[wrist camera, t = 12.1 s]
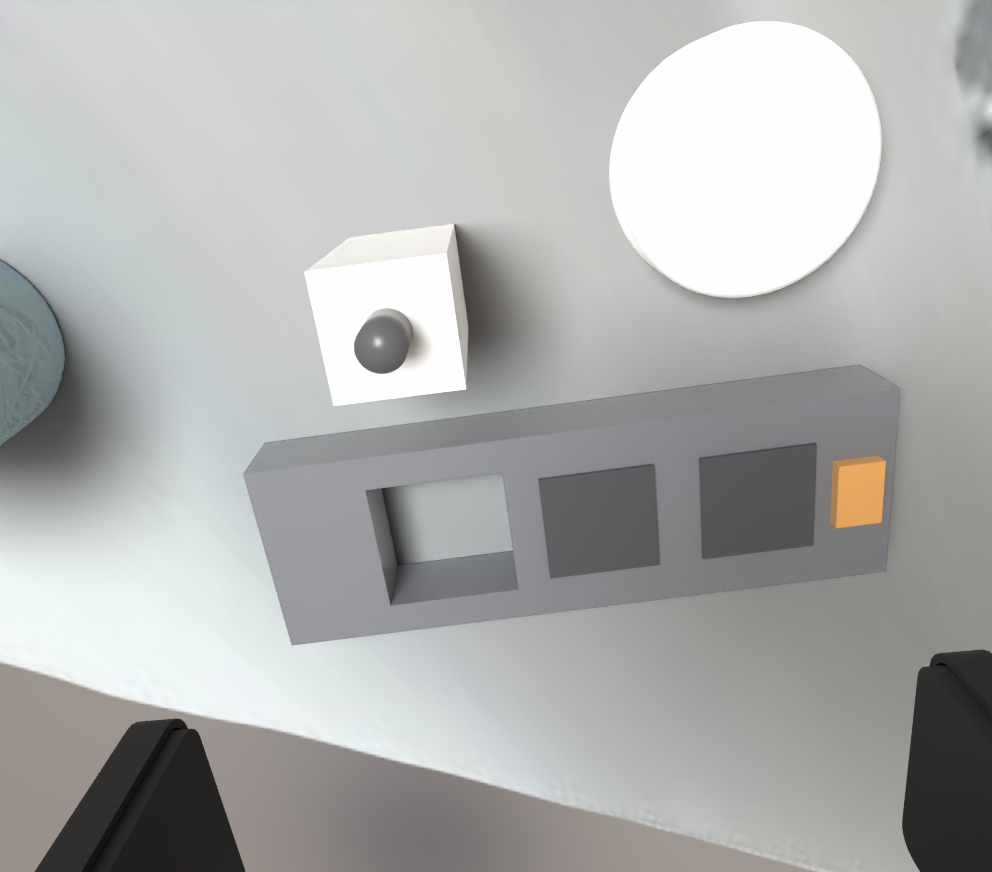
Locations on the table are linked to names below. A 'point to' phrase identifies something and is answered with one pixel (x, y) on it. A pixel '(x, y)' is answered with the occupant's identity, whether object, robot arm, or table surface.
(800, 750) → the table surface
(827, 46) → the coaster
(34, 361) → the blue-grey tapered cup
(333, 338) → the charger
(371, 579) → the power strip
